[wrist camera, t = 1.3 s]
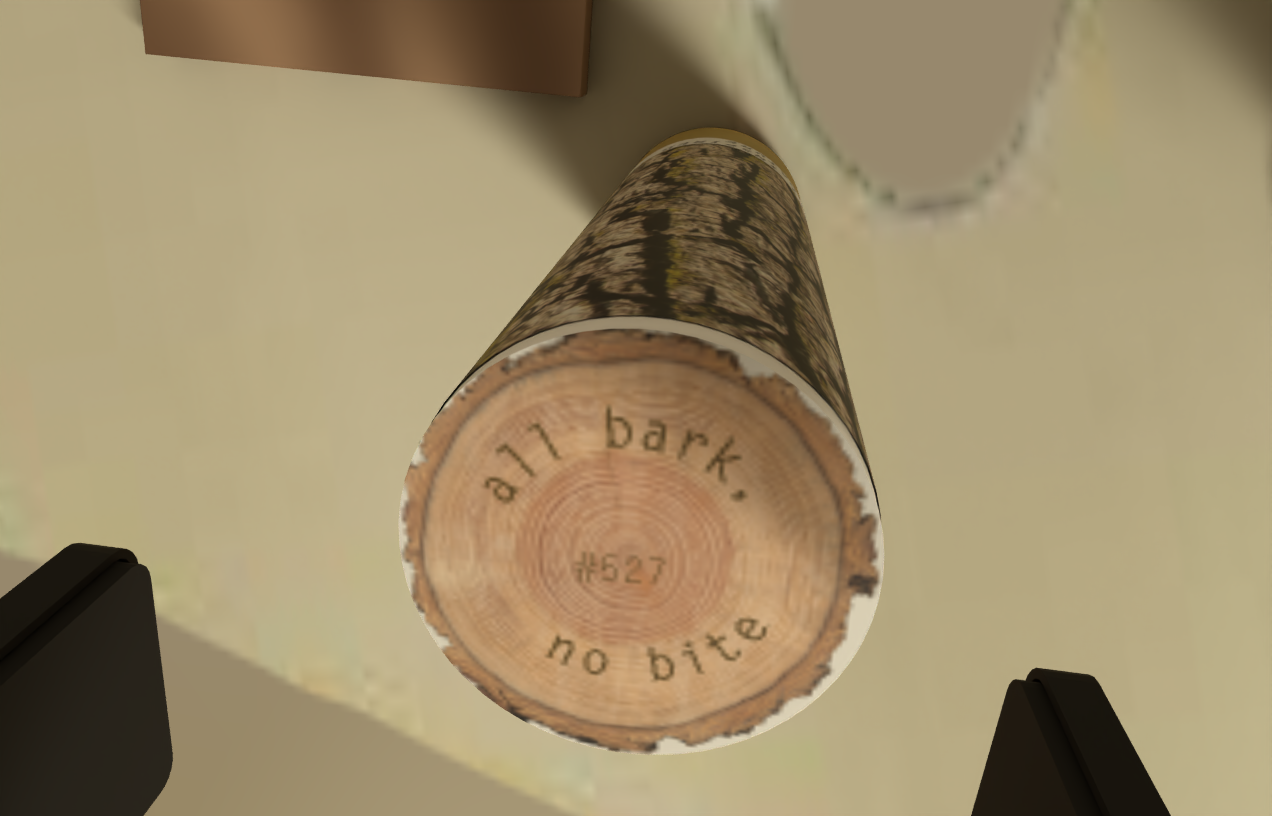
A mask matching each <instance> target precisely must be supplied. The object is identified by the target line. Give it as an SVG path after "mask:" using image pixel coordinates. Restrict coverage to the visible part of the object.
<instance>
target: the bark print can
mask: <svg viewBox="0 0 1272 816" xmlns="http://www.w3.org/2000/svg"><path fill="white" fill-rule="evenodd" d="M399 545H400V552H401V558H402V565H403V569H404V573H405V577H406V581H407V585H408V588H409V590H410V593H411V596H412V598H413V601H414V604H415V606H416V608H417V610H418V612H419V614H420V616H421V618H422V620H423V622H424V624H425V626H426V628H427V630H428V631H429V633H430V634H431V636H432V637H433V639H434V641H435V642H436V644H437V645H438V647H439V648H440V649H441V650H442V652H443V653H444V654H445V656H446V657H447V658H448V659H449V661H450V662H451V663H452V664H453V665H454V666H455V667H456V668H457V670H458V671H459V672H460V673H461V674H462V675H463V676H464V677H465V678H466V679H467V680H468V681H469V682H470V683H471V684H473V685H474V686H475V687H476V688H477V689H478V690H479V691H481V692H482V693H483V694H484V695H485V696H487V697H488V698H489V699H491V700H492V701H493V702H495V703H496V704H498V705H499V706H500V707H502V708H503V709H505V710H506V711H508V712H510V713H511V714H513V715H515V716H516V717H518V718H519V719H521V720H523V721H525V722H527V723H529V724H531V725H533V726H535V727H537V728H539V729H541V730H543V731H546V732H548V733H551V734H553V735H556V736H558V737H561V738H563V739H566V740H569V741H573V742H576V743H579V744H582V745H586V746H590V747H595V748H599V749H604V750H608V751H615V752H623V753H630V754H647V755H667V754H683V753H692V752H700V751H705V750H710V749H715V748H720V747H724V746H727V745H730V744H734V743H737V742H740V741H744V740H746V739H749V738H751V737H754V736H756V735H759V734H761V733H764V732H766V731H768V730H770V729H772V728H774V727H775V726H777V725H779V724H781V723H783V722H785V721H787V720H788V719H790V718H791V717H793V716H794V715H796V714H797V713H799V712H800V711H802V710H803V709H805V708H806V707H807V706H808V705H810V704H811V703H812V702H813V701H814V700H816V699H817V698H818V697H819V696H821V695H822V694H823V693H824V692H825V691H826V690H827V689H828V688H829V687H830V686H831V685H832V684H833V683H834V682H835V681H836V680H837V678H838V677H839V676H840V675H841V673H842V672H843V671H844V669H845V668H846V667H847V666H848V664H849V663H850V662H851V660H852V659H853V657H854V655H855V654H856V652H857V651H858V649H859V647H860V646H861V644H862V642H863V640H864V638H865V636H866V634H867V631H868V629H869V627H870V625H871V623H872V620H873V617H874V614H875V611H876V607H877V604H878V601H879V596H880V591H881V586H882V580H883V567H884V544H883V531H882V526H881V515H880V509H879V503H878V498H877V492H876V488H875V485H874V481H873V477H872V473H871V469H870V465H869V461H868V457H867V454H866V450H865V446H864V442H863V438H862V434H861V430H860V426H859V423H858V419H857V415H856V411H855V407H854V403H853V399H852V395H851V392H850V388H849V384H848V380H847V376H846V372H845V368H844V364H843V361H842V357H841V353H840V349H839V345H838V341H837V337H836V333H835V330H834V326H833V322H832V318H831V314H830V310H829V306H828V302H827V299H826V295H825V291H824V287H823V283H822V279H821V275H820V271H819V268H818V264H817V260H816V256H815V252H814V248H813V244H812V240H811V236H810V233H809V229H808V225H807V221H806V217H805V213H804V210H803V207H802V203H801V201H800V197H799V193H798V190H797V187H796V185H795V182H794V180H793V178H792V176H791V174H790V172H789V170H788V169H787V168H786V166H785V165H784V163H783V162H782V161H781V160H780V158H779V157H778V156H777V155H776V154H775V153H774V152H773V151H772V150H770V149H769V148H768V147H767V146H765V145H764V144H763V143H761V142H760V141H758V140H756V139H754V138H753V137H751V136H748V135H746V134H744V133H741V132H738V131H734V130H730V129H724V128H699V129H693V130H688V131H684V132H682V133H679V134H676V135H674V136H672V137H670V138H668V139H666V140H664V141H663V142H661V143H660V144H658V145H657V146H655V147H654V148H653V149H652V150H650V151H649V152H648V153H647V154H646V155H645V156H644V157H643V158H642V160H641V161H640V162H639V163H638V164H637V166H636V167H635V168H634V169H633V170H632V171H631V172H630V173H629V176H628V177H626V178H625V179H624V181H623V182H622V183H621V184H620V186H619V187H618V188H617V189H616V191H615V192H614V193H613V194H612V196H611V197H610V198H609V199H608V200H607V202H606V203H605V204H604V205H603V207H602V208H601V209H600V210H599V212H598V213H597V214H596V215H595V217H594V218H593V219H592V220H591V222H590V223H589V224H588V225H587V226H586V228H585V229H584V230H583V231H582V233H581V234H580V235H579V236H578V238H577V239H576V240H575V241H574V243H573V244H572V245H571V246H570V248H569V249H568V250H567V251H566V253H565V254H564V255H563V256H562V257H561V259H560V260H559V261H558V262H557V264H556V265H555V266H554V267H553V269H552V270H551V271H550V272H549V274H548V275H547V276H546V277H545V279H544V280H543V281H542V282H541V283H540V285H539V286H538V287H537V288H536V290H535V291H534V292H533V293H532V295H531V296H530V297H529V298H528V300H527V301H526V302H525V303H524V305H523V306H522V307H521V308H520V309H519V311H518V312H517V313H516V314H515V316H514V317H513V318H512V319H511V321H510V322H509V323H508V324H507V326H506V327H505V328H504V329H503V331H502V332H501V333H500V334H499V336H498V337H497V338H496V339H495V340H494V342H493V343H492V344H491V345H490V347H489V348H488V349H487V350H486V352H485V353H484V354H483V355H482V357H481V358H480V359H479V360H478V362H477V363H476V364H475V365H474V366H473V368H472V369H471V370H470V371H469V373H468V374H467V375H466V376H465V378H464V379H463V380H462V381H461V383H460V384H459V385H458V386H457V388H456V389H455V390H454V391H453V392H452V394H451V395H450V396H449V397H448V399H447V400H446V401H445V402H444V404H443V405H442V407H441V408H440V410H439V412H438V413H437V415H436V416H435V418H434V419H433V421H432V423H431V425H430V426H429V428H428V429H427V431H426V432H425V434H424V436H423V437H422V439H421V441H420V443H419V445H418V447H417V449H416V451H415V453H414V456H413V458H412V461H411V463H410V466H409V469H408V472H407V475H406V478H405V482H404V487H403V492H402V497H401V503H400V514H399Z"/></svg>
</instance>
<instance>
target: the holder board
mask: <svg viewBox="0 0 1272 816" xmlns="http://www.w3.org/2000/svg"><path fill="white" fill-rule="evenodd" d="M140 4H141V14H142V24H143V33H144V43H145V53H146V54H151V55H161V56H171V57H181V58H191V59H201V60H211V61H221V62H231V63H241V64H251V65H261V66H272V67H282V68H292V69H302V70H312V71H322V72H332V73H342V74H352V75H362V76H372V77H382V78H392V79H402V80H412V81H422V82H432V83H442V84H452V85H462V86H472V87H482V88H492V89H502V90H512V91H522V92H532V93H542V94H552V95H562V96H572V97H582V96H584V95H586V94H587V84H588V68H589V52H590V36H591V20H592V4H593V0H140Z"/></svg>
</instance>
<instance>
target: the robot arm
mask: <svg viewBox="0 0 1272 816" xmlns="http://www.w3.org/2000/svg"><path fill="white" fill-rule="evenodd" d="M172 761H173V752H172V744H171V736H170V729H169V720H168V713H167V704H166V696H165V688H164V680H163V673H162V664H161V656H160V647H159V640H158V631H157V623H156V615H155V607H154V599H153V591H152V583H151V576H150V573H149V570H148V569H147V567H146V566H144V565H142V564H138V561H137V558H136V556H135V555H134V553H133V552H132V551H130V550H128V549H123V548H115V547H108V546H100V545H92V544H85V543H74V544H71V545H69V546H68V547H66V548H64V549H63V550H62V551H60V552H59V553H58V554H57V555H55V556H54V557H53V558H51V559H50V560H49V561H48V562H46V563H45V564H44V565H43V566H41V567H40V568H39V569H37V570H36V571H35V572H34V573H33V574H31V575H30V576H28V577H27V578H26V579H25V580H23V581H22V582H21V583H20V584H18V585H17V586H16V587H15V588H13V589H12V590H11V591H9V592H8V593H7V594H6V595H4V596H3V597H2V598H1V599H0V816H144V814H145V813H146V812H147V810H148V809H149V808H150V806H151V805H152V804H153V802H154V801H155V799H156V798H157V797H158V796H159V794H160V793H161V791H162V790H163V788H164V787H165V785H166V782H167V780H168V778H169V775H170V772H171V768H172ZM971 816H1171V815H1170V813H1169V811H1168V810H1167V808H1166V806H1165V804H1164V802H1163V800H1162V799H1161V797H1160V795H1159V793H1158V791H1157V789H1156V788H1155V786H1154V784H1153V782H1152V780H1151V778H1150V776H1149V775H1148V773H1147V771H1146V769H1145V767H1144V765H1143V764H1142V762H1141V760H1140V758H1139V756H1138V754H1137V752H1136V751H1135V749H1134V747H1133V745H1132V743H1131V741H1130V740H1129V738H1128V736H1127V734H1126V732H1125V730H1124V728H1123V727H1122V725H1121V723H1120V721H1119V719H1118V717H1117V716H1116V714H1115V712H1114V710H1113V708H1112V706H1111V704H1110V703H1109V701H1108V699H1107V697H1106V695H1105V693H1104V692H1103V690H1102V688H1101V686H1100V684H1099V683H1098V681H1097V680H1096V679H1095V677H1093V676H1091V675H1088V674H1080V673H1072V672H1065V671H1057V670H1050V669H1042V668H1035V669H1032V670H1031V672H1030V673H1029V674H1028V676H1027V678H1026V681H1025V680H1017V679H1015V680H1013V681H1012V682H1011V683H1010V684H1009V687H1008V689H1007V692H1006V696H1005V699H1004V703H1003V706H1002V710H1001V713H1000V717H999V720H998V724H997V727H996V731H995V734H994V738H993V741H992V745H991V748H990V752H989V755H988V759H987V762H986V766H985V769H984V773H983V776H982V780H981V783H980V787H979V790H978V794H977V797H976V801H975V804H974V808H973V811H972V815H971Z"/></svg>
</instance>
